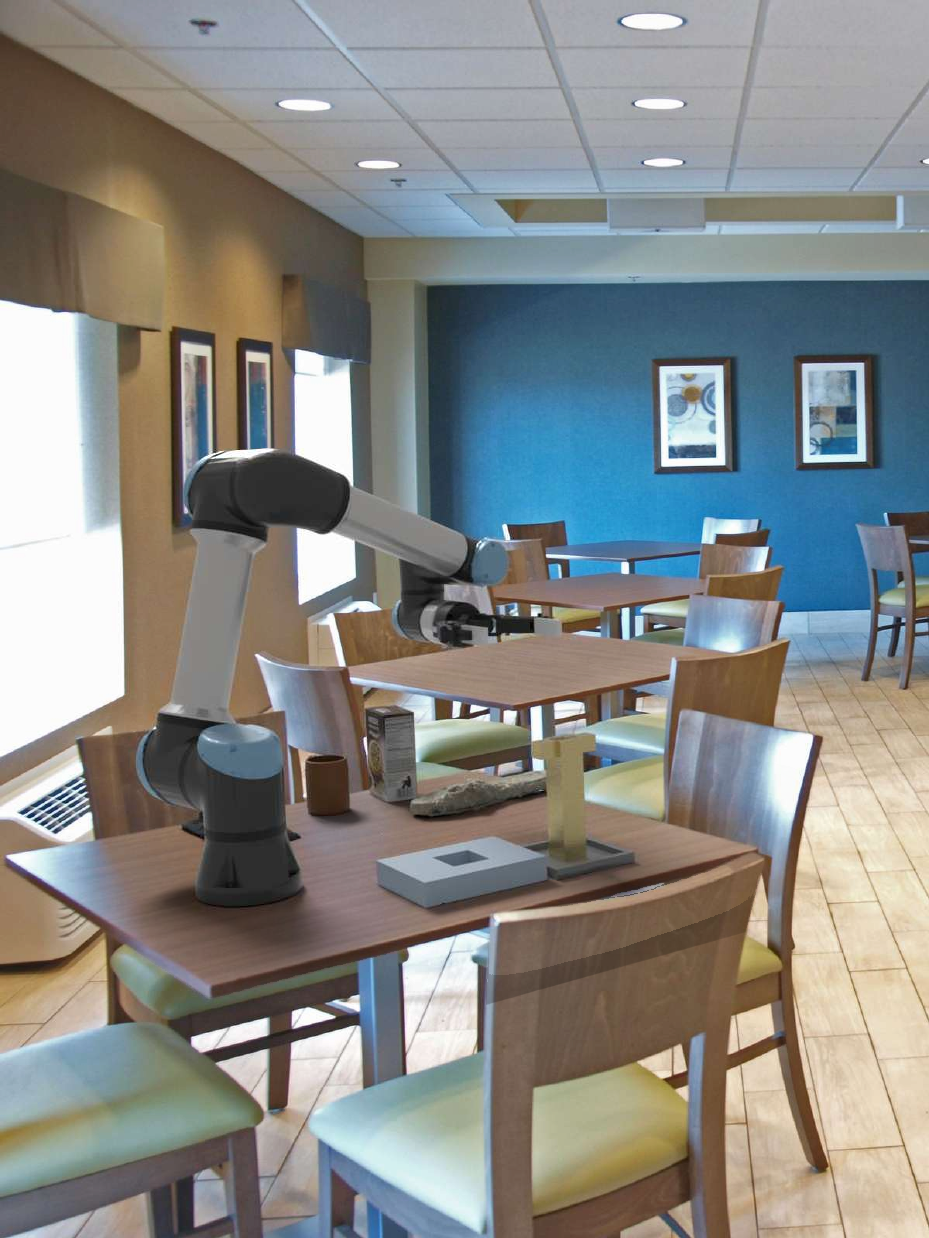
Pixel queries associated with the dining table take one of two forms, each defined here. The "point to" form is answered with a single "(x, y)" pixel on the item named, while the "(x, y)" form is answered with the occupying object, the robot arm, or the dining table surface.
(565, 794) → the t key
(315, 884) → the dining table surface
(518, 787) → the long grey stone
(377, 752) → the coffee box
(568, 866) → the tray
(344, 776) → the mug
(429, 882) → the cover plate
